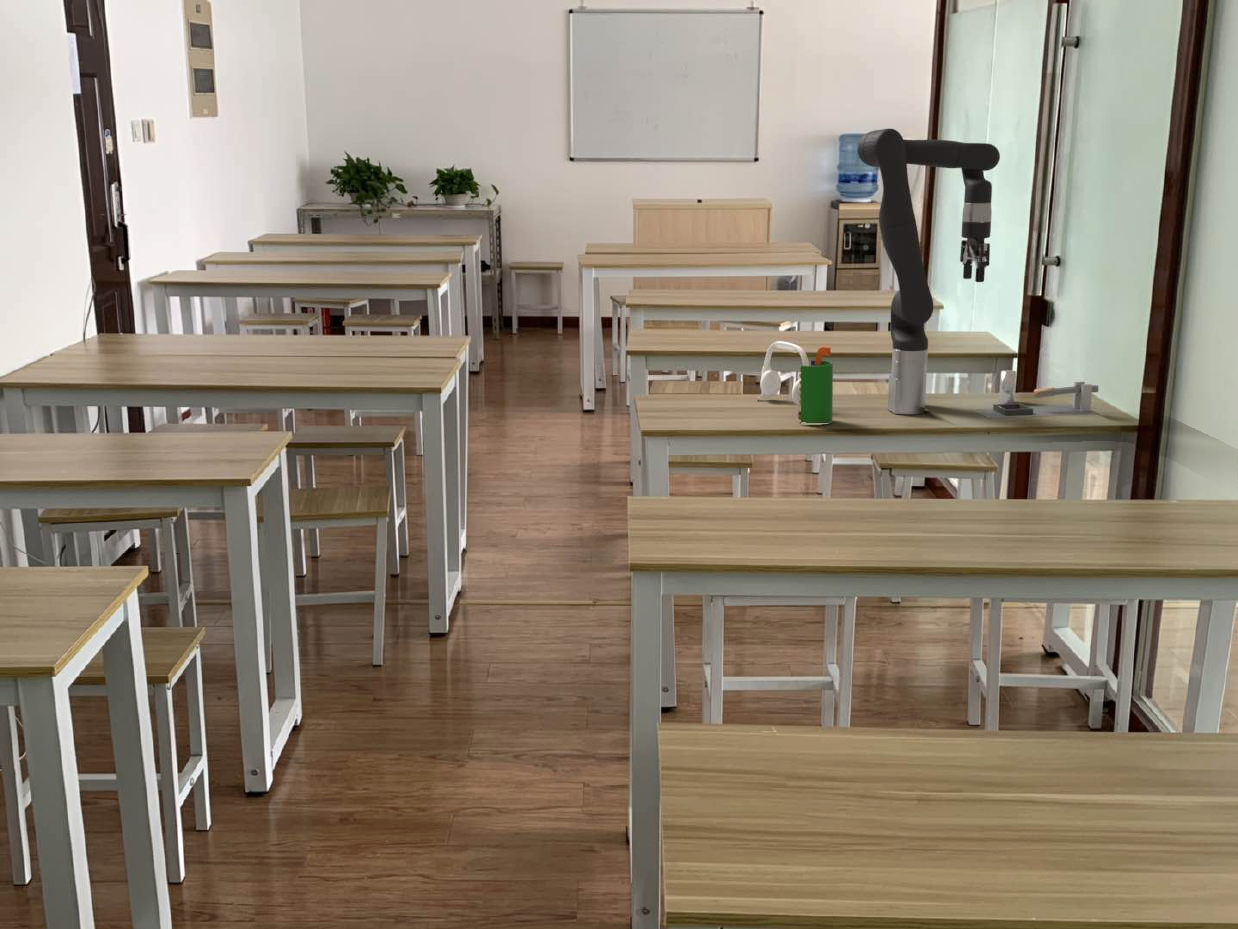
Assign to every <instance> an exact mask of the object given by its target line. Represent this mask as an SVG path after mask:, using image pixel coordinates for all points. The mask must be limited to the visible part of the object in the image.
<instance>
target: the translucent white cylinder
mask: <svg viewBox="0 0 1238 929" xmlns="http://www.w3.org/2000/svg"><path fill="white" fill-rule="evenodd" d="M1016 378H1017V371H1015V370H1009V369H1007V370H1006V369H1005V370H1003V369H1002V370H1001V371H1000V378H999V379H1000V380H999V381H1000V382H999V395H998V396H999V398H998V403H999V404H1015V398H1016V397H1015V396H1016V395H1015V394H1016V381H1017V380H1016Z"/></svg>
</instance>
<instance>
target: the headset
mask: <svg viewBox="0 0 1238 929" xmlns="http://www.w3.org/2000/svg"><path fill="white" fill-rule="evenodd" d="M775 348H777V350H784V351H788V352H791V353H794V354H796V353H798V354H799V355H800V357H801V361H802V365H803V366H810V362H809V358H808V355H807V353H806V351H805V350H804V348H802V347H801V346H799V345H798V344H794V343H792V342H789V341H783V340H782V341H781V340H778V341H774V342H773V343H770V345H769V346H768V348H767V351H766V354H765V358H764V362H763V367H761V378H760V384H759V385H760V386H759V387H760V390H761V395H760V396H771V397H774V396H776V395H777V394H778V393H779V392H780V389H781V387H782V386H781V385H782V380H781V379H782V378H781V376H780V374H779V373H778V371H776V370H774V369H772V367H771V359H772V354H773V351H774V349H775ZM800 380H801V378H799V379H798V380H797V381H796V382H795V383H794V384H793V387H792V388H791V397H792V400H793V402H794V403H795V404H796V405H798V406H801V404H800V403H799V400H801V398H800V397H799V394H800V393H801V391H800V390H799V388H800V387H801V385H800V384H799V381H800ZM760 396H758V397H757V398H767V399H769V398H770V397H760Z"/></svg>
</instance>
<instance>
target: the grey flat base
mask: <svg viewBox="0 0 1238 929" xmlns="http://www.w3.org/2000/svg"><path fill="white" fill-rule="evenodd" d="M1074 386H1082V387H1081V392H1080V393H1073V398H1072V404H1059V405H1035V406H1033V405H1031V406H1028V405H1025V404H1023V403H1019V402H1018V403H1017V402H1016V403H1015V402H1014V403H1012V404H1004V403H996V404H995V403H994V404H992V405H993V406H992V407H991V408H990V407H989V408H988V407H985V408H984V407H983V408H971V411H974V412H976V413H977V414H980V415H981V416H984V417H985V418H988V419H1008V418H1009V419H1010V418H1028V417H1029V418H1032V417H1035V418H1036V417H1049V416H1050V417H1055V416H1056V417H1057V416H1058V417H1059V416H1078V415H1082V416H1083V415H1097V416H1100V415H1101V414H1100V413H1099V412H1097V411H1094V410H1092V409H1091V408H1092V406H1091V405H1092V394H1093V393H1092V386H1093V384H1091V383H1088V384H1087V383H1086V381H1074V384H1073V387H1074Z"/></svg>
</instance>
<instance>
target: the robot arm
mask: <svg viewBox="0 0 1238 929" xmlns="http://www.w3.org/2000/svg"><path fill="white" fill-rule="evenodd" d="M857 155H858V157H859V159H860V160H861V161H862V163H863V164H865V165H866V166H868V167H872V168H879V171H880V176H881V182H882V188H883V190H882V196H881V197H882V198H881V202H880V207H879V212H878V224H879V230H880V234H881V240H882V244H883V248H884V250H885V253H886V255H887V256H888V259H889V261H890V264H891V265H892V267H893V270H894V272H895V275H896V277H897V283H898V289H899V290H898V291H897V292H896V293H895V294H894V296H893V298H892V301H891V304H890V338H891V341H892V353H891V355H892V358H891V359H892V360H891V374H889V375H888V390H887V391H888V392H887V393H888V394H887V395H888V396H887V410H888V411H890V412H891V411H892V412H891V413H893V414H896V415H897V414H898V415H919V414H924V413H925V412H926V398H927V395H926V394H927V377H928V374H927V372H928V354H929V353H928V352H929V339H928V336H927V335H926V331H925V324H926V323H927V322H928V321H929V320H930V318H931V317H932V316H933V313H934V300H933V299H934V298H933V296H932V292H931V290H930V286H929V283H928V279H927V277H926V274H925V270H924V262H923V256H922V250H921V249H922V248H921V244H920V239H919V232H918V225H917V220H916V216H915V212H914V208H913V207H914V206H913V201H912V195H911V189H910V183H909V175H908V174H909V173H908V165H916V166H924V167H933V168H942V169H961V174H962V179H963V180H962V181H963V184H964V199H963V202H964V203H963V208H962V217H961V218H962V219H961V238H963V239H965V240H961V243H960V244H961V245H960V256H959V261H960V262H961V263H962V265H963V268H962V269H963V272H962V278H963V279H964V280H971V279H972V278H973V263H975V267H976V268H975V276H974V277H975V280H974V281H975V283H984V281H985V271H986V268H987V267H988V266H990V259H991V258H990V255H991V254H990V253H991V252H990V251H991V249H990V248H991V244H990V243H987V242H985V239H989V238H990V237H991V229H992V214H993V213H992V196H993V194H992V193H993V184H992V182H991V181H990V180H987V179H986V178H985V174H984V172H985V171H991V170H993V169H994V168H996V167H997V165H998V164H999V162H1000V158H1001V154H1000V151H999V149H998V147H996V146H995V145H994V144H992V143H985V142H962V141H957V140H947V139H904V138H903V136H902V135H901V133H900V131H898V130H896V129H895V128H883V129H874V130H871V131H868V132H866V133H865V134H863V136H862V137H861V138H860V139H859V141H858V144H857Z"/></svg>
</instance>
